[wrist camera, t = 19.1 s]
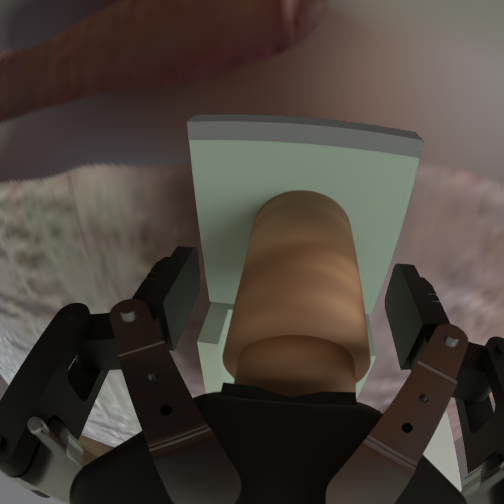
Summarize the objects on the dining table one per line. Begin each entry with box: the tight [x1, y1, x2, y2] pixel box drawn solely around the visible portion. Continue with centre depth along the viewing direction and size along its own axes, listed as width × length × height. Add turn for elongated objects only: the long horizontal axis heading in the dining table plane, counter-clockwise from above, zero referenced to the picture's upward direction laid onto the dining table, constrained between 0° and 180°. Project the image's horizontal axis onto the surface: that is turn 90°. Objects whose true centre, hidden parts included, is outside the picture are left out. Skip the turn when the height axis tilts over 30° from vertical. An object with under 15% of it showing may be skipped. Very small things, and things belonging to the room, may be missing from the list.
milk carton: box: [423, 411, 462, 492], centre depth 21 cm, size 7×7×19 cm
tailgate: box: [187, 115, 424, 315], centre depth 15 cm, size 1×10×11 cm
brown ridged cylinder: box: [222, 190, 371, 396], centre depth 11 cm, size 5×5×8 cm
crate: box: [197, 302, 376, 399], centre depth 21 cm, size 10×10×6 cm
